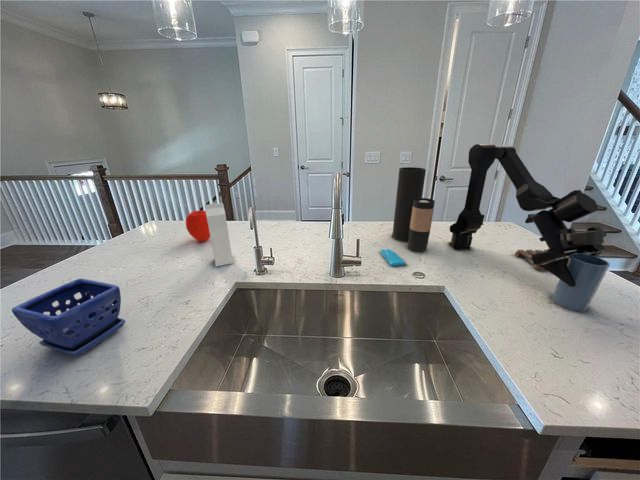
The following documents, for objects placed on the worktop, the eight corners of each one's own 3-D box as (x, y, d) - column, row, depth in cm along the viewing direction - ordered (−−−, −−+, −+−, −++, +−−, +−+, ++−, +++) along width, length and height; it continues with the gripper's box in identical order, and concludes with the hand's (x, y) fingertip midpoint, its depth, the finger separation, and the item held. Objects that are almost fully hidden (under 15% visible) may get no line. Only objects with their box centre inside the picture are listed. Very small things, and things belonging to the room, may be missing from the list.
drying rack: (538, 270, 88) (540, 264, 87) (514, 255, 99) (516, 249, 98) (586, 270, 87) (589, 264, 86) (557, 255, 98) (559, 249, 97)
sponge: (394, 249, 103) (380, 248, 102) (406, 263, 92) (391, 262, 91) (393, 252, 103) (379, 251, 102) (405, 266, 92) (390, 266, 91)
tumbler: (566, 310, 68) (587, 265, 63) (545, 294, 75) (563, 252, 69) (594, 311, 68) (618, 266, 62) (571, 295, 74) (590, 253, 69)
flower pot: (96, 315, 68) (79, 276, 64) (134, 324, 65) (120, 284, 60) (33, 353, 57) (7, 308, 52) (75, 367, 53) (51, 320, 49)
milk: (233, 263, 95) (224, 205, 86) (215, 266, 93) (204, 207, 84) (231, 256, 100) (222, 200, 91) (214, 259, 98) (204, 202, 89)
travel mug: (404, 245, 108) (410, 198, 101) (421, 244, 109) (429, 197, 101) (411, 252, 101) (418, 203, 94) (430, 252, 102) (439, 202, 94)
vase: (387, 235, 119) (394, 168, 107) (405, 232, 122) (413, 166, 111) (402, 243, 110) (410, 171, 99) (420, 239, 114) (431, 169, 102)
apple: (223, 238, 118) (218, 209, 113) (200, 247, 109) (193, 216, 103) (207, 233, 124) (201, 206, 118) (183, 241, 115) (177, 212, 109)
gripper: (557, 219, 63) (595, 281, 57) (609, 213, 68) (649, 269, 62) (518, 238, 73) (546, 292, 67) (565, 231, 78) (596, 281, 72)
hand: (585, 283), depth 67 cm, fingers open, 8 cm apart
